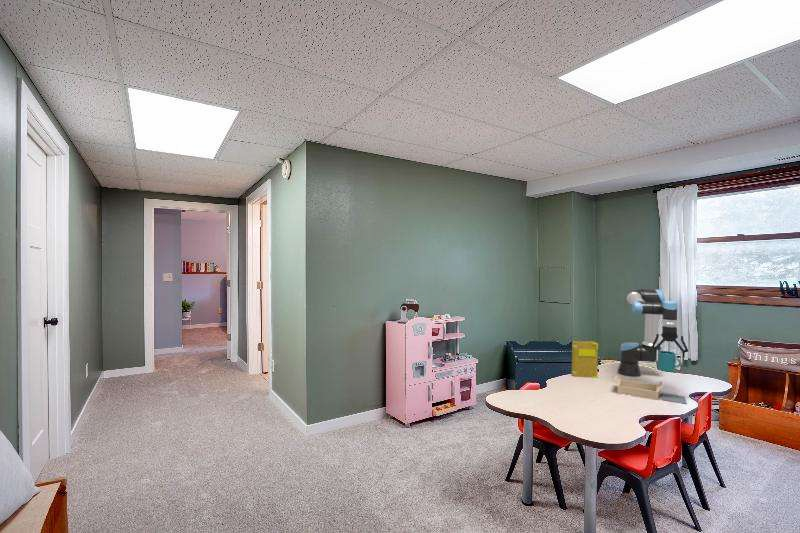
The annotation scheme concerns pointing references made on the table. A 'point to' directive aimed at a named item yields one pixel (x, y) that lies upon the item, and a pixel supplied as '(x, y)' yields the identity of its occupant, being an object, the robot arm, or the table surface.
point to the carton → (638, 388)
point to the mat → (674, 398)
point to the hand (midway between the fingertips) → (669, 361)
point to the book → (584, 359)
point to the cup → (667, 361)
